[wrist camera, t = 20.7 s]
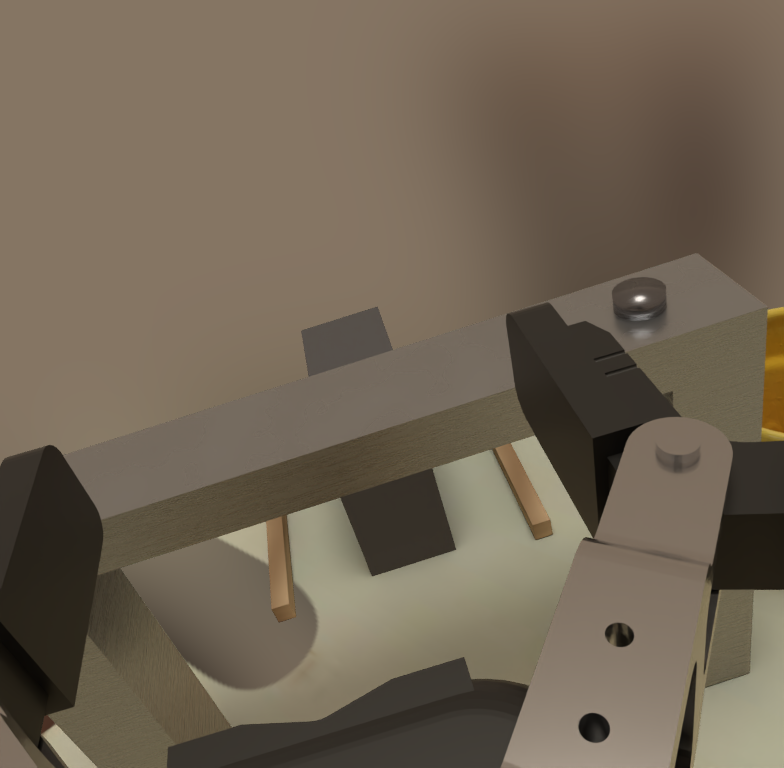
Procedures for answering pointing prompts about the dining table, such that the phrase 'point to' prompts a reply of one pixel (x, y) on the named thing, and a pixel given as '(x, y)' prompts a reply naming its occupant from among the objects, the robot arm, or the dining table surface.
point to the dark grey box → (392, 499)
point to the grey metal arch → (371, 472)
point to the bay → (281, 551)
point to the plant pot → (774, 378)
